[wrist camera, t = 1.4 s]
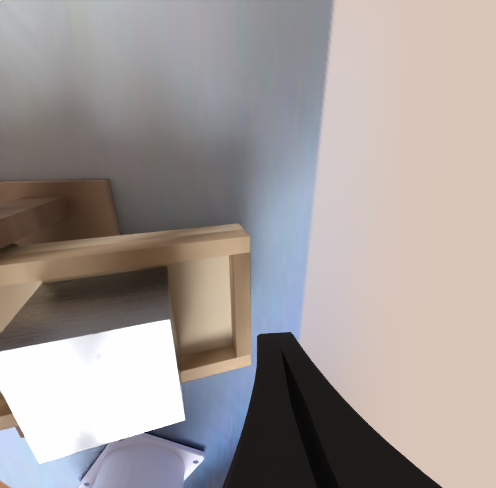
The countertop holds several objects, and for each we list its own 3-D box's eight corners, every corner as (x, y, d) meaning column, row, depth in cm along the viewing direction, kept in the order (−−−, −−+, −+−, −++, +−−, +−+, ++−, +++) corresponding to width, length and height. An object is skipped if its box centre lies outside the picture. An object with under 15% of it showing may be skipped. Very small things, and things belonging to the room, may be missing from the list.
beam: (236, 220, 14) (250, 236, 12) (239, 335, 17) (250, 365, 15) (-381, 281, 8) (-575, 333, 6) (-213, 437, 11) (-303, 509, 9)
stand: (108, 179, 14) (31, 205, 8) (144, 349, 19) (109, 439, 13) (-10, 181, 14) (-173, 210, 8) (57, 354, 18) (-18, 450, 13)
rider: (167, 266, 12) (170, 319, 8) (179, 348, 14) (185, 420, 10) (41, 283, 11) (-18, 355, 7) (73, 372, 13) (39, 463, 9)
